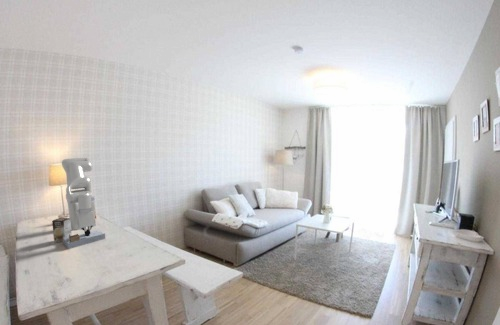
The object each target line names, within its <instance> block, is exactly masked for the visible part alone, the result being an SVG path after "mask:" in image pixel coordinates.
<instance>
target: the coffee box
mask: <svg viewBox="0 0 500 325" xmlns="http://www.w3.org/2000/svg"><path fill="white" fill-rule="evenodd" d="M51 221H52V222H51V225H52V234H53V242H54V243H63V238H64V237H65V238H69V236H73V234H72V230H71V220H70V218H69V217H59V218H56V219H53V220H51Z"/></svg>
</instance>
